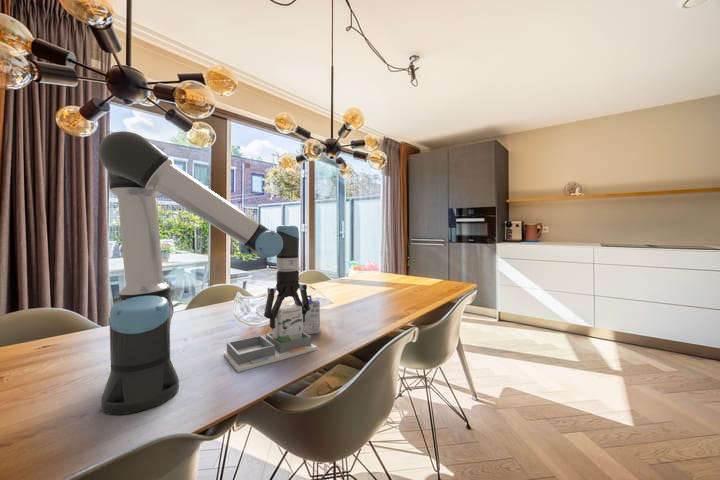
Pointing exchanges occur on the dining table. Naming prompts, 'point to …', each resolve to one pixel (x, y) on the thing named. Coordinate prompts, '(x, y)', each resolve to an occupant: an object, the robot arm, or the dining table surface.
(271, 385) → the dining table surface
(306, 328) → the ink cartridge box
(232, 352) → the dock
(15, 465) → the dining table surface
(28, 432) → the dining table surface
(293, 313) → the ink box
